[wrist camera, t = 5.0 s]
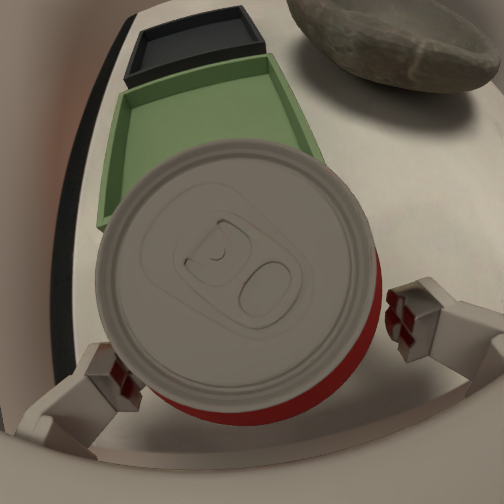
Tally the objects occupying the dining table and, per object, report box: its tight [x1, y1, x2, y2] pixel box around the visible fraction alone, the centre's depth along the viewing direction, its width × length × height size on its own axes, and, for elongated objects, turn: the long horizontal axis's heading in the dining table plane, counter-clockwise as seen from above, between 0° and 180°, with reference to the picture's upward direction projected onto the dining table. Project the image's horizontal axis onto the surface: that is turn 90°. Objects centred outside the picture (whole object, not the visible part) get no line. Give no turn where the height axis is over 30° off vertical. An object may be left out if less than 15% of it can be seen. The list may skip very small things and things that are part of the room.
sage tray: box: [96, 53, 326, 233], centre depth 20 cm, size 15×15×3 cm
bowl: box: [287, 0, 501, 94], centre depth 19 cm, size 23×22×10 cm
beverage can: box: [95, 138, 382, 426], centre depth 10 cm, size 7×7×12 cm
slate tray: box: [123, 5, 266, 89], centre depth 27 cm, size 15×15×3 cm
